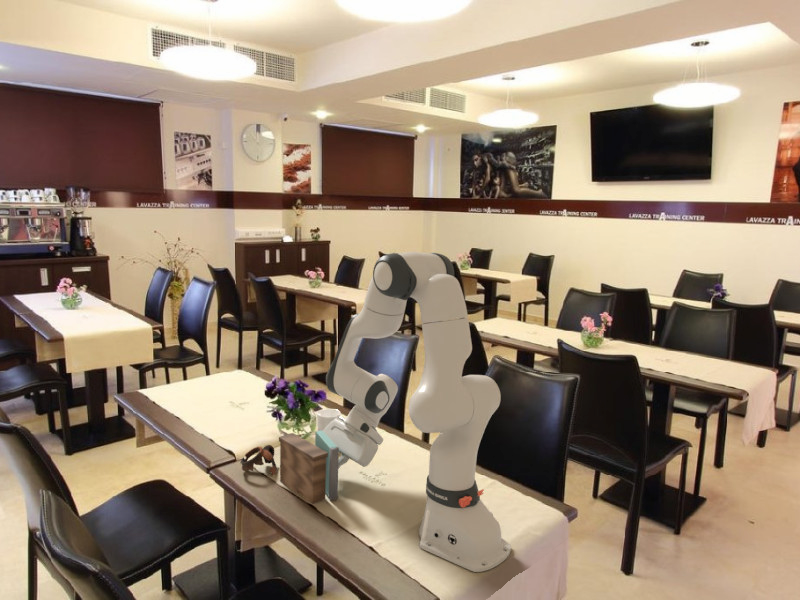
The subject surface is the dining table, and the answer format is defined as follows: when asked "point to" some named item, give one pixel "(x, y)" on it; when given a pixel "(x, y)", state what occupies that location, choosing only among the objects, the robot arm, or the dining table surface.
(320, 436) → the teal square slab
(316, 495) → the wooden board
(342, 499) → the dining table surface
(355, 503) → the dining table surface
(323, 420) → the white cup
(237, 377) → the dining table surface
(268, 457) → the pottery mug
